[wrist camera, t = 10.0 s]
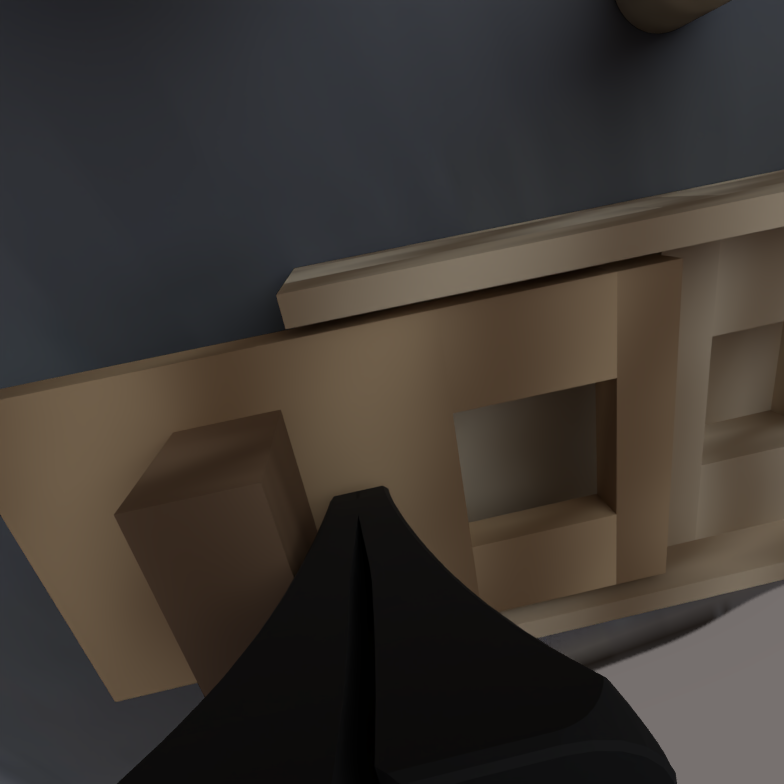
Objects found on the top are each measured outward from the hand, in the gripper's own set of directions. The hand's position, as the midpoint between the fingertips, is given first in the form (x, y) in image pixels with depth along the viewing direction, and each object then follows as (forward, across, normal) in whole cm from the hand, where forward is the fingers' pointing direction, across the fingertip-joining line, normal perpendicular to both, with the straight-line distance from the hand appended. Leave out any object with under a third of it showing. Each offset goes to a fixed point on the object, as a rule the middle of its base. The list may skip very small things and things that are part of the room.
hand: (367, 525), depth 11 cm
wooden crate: (+5, -7, 0) cm, 9 cm away
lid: (+2, 0, 0) cm, 2 cm away
